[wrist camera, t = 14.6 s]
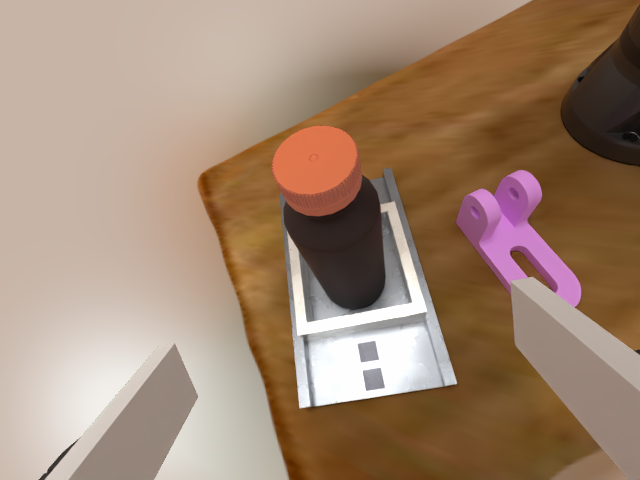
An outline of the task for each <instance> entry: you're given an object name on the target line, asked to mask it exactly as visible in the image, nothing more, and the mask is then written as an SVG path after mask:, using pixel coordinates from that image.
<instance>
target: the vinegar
mask: <svg viewBox="0 0 640 480" xmlns="http://www.w3.org/2000/svg"><path fill="white" fill-rule="evenodd" d="M272 164H273V165H272V167H273V168H272V170H273V171H272V173H273V174H272V175H273V176H274V179H275V182H276V183H277V185H278V187H279V189H280V191H281V193H282V194H283V196H284V198H285V200H286V202H285V205H284V209H283V215H284V225H285V227H286V229H287V231H288V234H289V236H290V238H291V239H292V241H293V242H294V244H295V245H296V247H297V249H298V250H299V252H300V253H301V255H302V257H303V258H304V260H305V261H306V263H307V264H308V266H309V268H310V269H311V271H312V272H313V274H314V275H315V277H316V279H317V280H318V282H319V283H320V285H321V287H322V288H323V290H324V291H325V293H326V294H327V296H328V297H329V298H330V299H331V300H332V301H333V302H334V303H335V304H337V305H339V306H341V307H343V308H349V309H357V308H364V307H366V306H368V305H369V304H371V303H373V302H374V301H375V300H376V299H377V298H378V297H379V296H380V295H381V293H382V291H383V289H384V286H385V278H386V275H385V261H384V247H383V233H382V219H381V206H380V201H379V197H378V193H377V191H376V189H375V188H374V186H373V185H372V183H371V182H370V180H369V179H367V178H366V177H364V176H363V175H362V173H361V165H360V158H359V151H358V147H357V145H356V143H355V141H353V138H351V136H349V134H347V132H344V130H343V131H342V130H341V129H338V128H335V127H330V126H313V127H310V128H306V129H303V130H301V131H299V132H296V133H295V134H293V135H291V136H290V137H289V138H287V140H285V141H284V142H283V143H282V144H281V145H280V147H279V148H278V150H277V151H276V153H275V156H274V159H273V162H272Z"/></svg>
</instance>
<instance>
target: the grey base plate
mask: <svg viewBox="0 0 640 480" xmlns="http://www.w3.org/2000/svg"><path fill="white" fill-rule="evenodd" d="M370 182H371V183H372V185H373V186H374V188H375V189H376V191H377V193H378V197H379V201H380V206H381V219H382V233H383V247H384V261H385V275H386V278H385V286H384V289H383V291H382V293H381V295H380V296H379V297H378V298H377V299H376V300H375V301H374V302H373V303H371V304H369V305H368V306H366V307H364V308H357V309H349V308H343V307H341V306H339V305H337V304H335V303H334V302H333V301H332V300H331V299H330V298H329V297H328V296H327V294H326V293H325V291H324V290H323V288H322V287H321V285H320V283H319V282H318V280H317V279H316V277H315V275H314V274H313V272H312V271H311V269H310V268H309V266H308V264H307V263H306V261H305V260H304V258H303V257H302V255H301V253H300V252H299V250H298V249H297V247H296V245H295V244H294V242H293V241H292V239H291V238H290V236H289V234H288V231H287V229H286V227H285V225H284V215H283V209H284V205H285V202H286V200H285V198H284V196H283V194H280V204H281V214H282V225H283V236H284V246H285V257H286V268H287V279H288V289H289V300H290V311H291V321H292V332H293V343H294V354H295V364H296V375H297V386H298V396H299V407H300V408H309V407H315V406H321V405H328V404H334V403H341V402H347V401H354V400H360V399H366V398H373V397H379V396H386V395H392V394H399V393H405V392H411V391H418V390H424V389H431V388H437V387H444V386H450V385H455V384H457V381H456V378H455V375H454V372H453V368H452V365H451V362H450V359H449V355H448V352H447V349H446V345H445V342H444V339H443V336H442V332H441V329H440V326H439V323H438V319H437V316H436V313H435V310H434V306H433V303H432V300H431V297H430V293H429V290H428V287H427V283H426V280H425V277H424V274H423V270H422V267H421V264H420V261H419V257H418V254H417V251H416V248H415V244H414V241H413V238H412V235H411V231H410V228H409V225H408V221H407V218H406V215H405V212H404V208H403V205H402V202H401V199H400V195H399V192H398V189H397V186H396V182H395V179H394V176H393V173H392V169H391V168H387V169H383V177H381V178H377V179H373V180H370Z"/></svg>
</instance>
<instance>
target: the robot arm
mask: <svg viewBox="0 0 640 480" xmlns="http://www.w3.org/2000/svg"><path fill="white" fill-rule="evenodd" d="M561 115H562V119H563V122H564V125H565V127H566V128H567V130H568V131H569V133H570V134H571V135H572V136H573V137H574V138H575V139H576V140H577V141H578V142H579V143H581V144H582V145H583V146H585V147H586V148H588V149H590V150H591V151H593V152H595V153H597V154H599V155H602V156H604V157H607V158H609V159H612V160H616V161H619V162H623V163H628V164H635V165H640V5H639V6H638V8H637V9H636V11H635V13H634V14H633V16H632V18H631V19H630V21H629V23H628V24H627V26H626V28H625V29H624V31H623V32H622V34H621V35H620V37H619V38H618V39H617V40H616V41H615V42H613V43H612V44H611V45H610V46H609V47H608V48H607V49H606V50H605V51H604V52H603V53H602V54H601V55H600V56H599V57H597V58H596V59H595V60H594V61H593V62H592V63H591V64H590V65H589V66H588V67H587V68H586V69H585V70H584V71H583V72H582V73H580V75H579V76H578V77H577V78H576V79H575V81H574V82H573V83H572V85H571V87H570V89H569V90H568V92H567V94H566V96H565V98H564V100H563V103H562V107H561ZM510 283H511V297H512V310H513V324H514V337H515V346H516V347H517V348H518V349H519V350H520V352H521V353H522V354H523V355H524V356H525V358H526V359H527V360H528V361H529V362H530V364H531V365H532V366H533V367H534V368H535V369H536V371H537V372H538V373H539V374H540V375H541V377H542V378H543V379H544V380H545V381H546V383H547V384H548V385H549V386H550V387H551V389H552V390H553V391H554V392H555V393H556V395H557V396H558V397H559V398H560V399H561V400H562V402H563V403H564V404H565V405H566V406H567V408H568V409H569V410H570V411H571V412H572V414H573V415H574V416H575V417H576V418H577V420H578V421H579V422H580V423H581V424H582V426H583V427H584V428H585V429H586V430H587V431H588V433H589V434H590V435H591V436H592V437H593V439H594V440H595V441H596V442H597V443H598V445H599V446H600V447H601V448H602V449H603V451H604V452H605V453H606V454H607V455H608V457H610V459H611V460H612V461H613V462H614V464H615V465H616V466H617V467H618V468H619V470H620V471H621V472H622V473H623V474H624V476H625V477H626V478H627V479H628V480H640V350H635V351H633V350H632V349H631V348H629V347H628V346H627V345H625V344H624V343H622V342H621V341H620V340H618V339H617V338H616V337H614V336H613V335H612V334H610V333H609V332H607V331H606V330H605V329H603V328H602V327H601V326H599V325H598V324H597V323H595V322H594V321H592V320H591V319H590V318H588V317H587V316H586V315H584V314H583V313H582V312H580V311H579V310H577V309H576V308H575V307H573V306H572V305H571V304H569V303H568V302H567V301H565V300H564V299H562V298H561V297H560V296H558V295H557V294H556V293H554V292H553V291H551V290H550V289H549V288H547V287H546V286H545V285H543V284H542V283H541V282H539V281H538V280H536V279H535V278H534V277H529V278H524V279H518V280H513V281H510ZM197 398H198V395H197V393H196V391H195V388H194V386H193V384H192V381H191V379H190V377H189V375H188V373H187V370H186V368H185V366H184V364H183V361H182V359H181V356H180V354H179V352H178V350H177V347H176V345H175V344H169V345H164V346H158V347H157V348H156V349H155V350H154V352H153V353H152V354H151V355H150V356H149V357H148V359H147V360H146V361H145V362H144V363H143V364H142V366H141V367H140V368H139V369H138V370H137V372H136V373H135V374H134V375H133V376H132V377H131V379H130V380H129V381H128V382H127V383H126V384H125V386H124V387H123V388H122V389H121V390H120V392H119V393H118V394H117V395H116V396H115V398H114V399H113V400H112V401H111V402H110V403H109V405H108V406H107V407H106V408H105V409H104V410H103V412H102V413H101V414H100V415H99V417H97V419H96V420H95V421H94V422H93V423H92V425H91V426H90V427H89V428H88V429H87V430H86V432H85V433H84V434H83V435H82V436H81V437H80V438H79V439H78V440H77V441H76V442H74V443H73V444H72V445H71V446H70V447H69V448H67V449H66V450H65V451H64V452H63V453H62V454H61V455H60V456H59V457H58V458H57V460H56V461H55V462H54V463H53V464H52V465H51V466H50V468H49V469H48V471H47V473H45V474H44V475H43V476H42V477H41V478H40V479H39V480H154V479H155V477H156V475H157V473H158V471H159V469H160V467H161V465H162V464H163V462H164V460H165V458H166V456H167V454H168V452H169V450H170V448H171V447H172V445H173V443H174V441H175V439H176V437H177V435H178V433H179V432H180V430H181V428H182V426H183V424H184V422H185V420H186V419H187V417H188V415H189V413H190V411H191V409H192V407H193V405H194V404H195V402H196V400H197Z"/></svg>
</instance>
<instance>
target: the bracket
mask: <svg viewBox="0 0 640 480" xmlns="http://www.w3.org/2000/svg"><path fill="white" fill-rule="evenodd" d="M541 198H542V191H541V187H540V185H539V183H538V181H537V180H536V178H535V177H534V176H533V175H532V174H530V173H529V172H527V171H524V170H519V171H516V172H514V173H512V174H510V175H508V176H506V177H504V178H503V179H502V180H501V182H500V184H499V186H498V188H497V190H496V192H495V194H494V196H493V195H492V194H491V193H490V192H488V191H487V190H485V189H479V190H477V191H474V192H472V193H470V194H468V195H466V196H465V197H464V199H463V202H462V205H461V208H460V211H459V214H458V217H457V220H456V224H457V225H458V226H459V228H460V229H461V230H462V232H463V233H464V234H465V236H466V237H467V238H468V240H469V241H470V242H471V243H472V245H473V246H474V247H475V249H476V250H477V251H478V253H479V254H480V255H481V257H482V258H483V259H484V261H485V262H486V263H487V264H488V266H489V267H490V268H491V270H492V271H493V272H494V274H495V275H496V276H497V278H498V279H499V280H500V281H501V283H502V284H503V285H504V287H505V288H506V289H507V291H508V292H509V293H510V295H511V283H510V281H513V280H518V279H524V278H528V277H527V276H526V275H525V273H524V272H523V271H522V270H521V268H520V267H519V266H518V265H517V264H516V262H515V261H514V260H513V259H512V257H511V256H510V251H519V252H521V253H523V254H524V255H525V257H526V258H527V259H528V260H529V261H530V262H531V264H532V265H533V266H534V267H535V268H536V270H537V271H538V272H539V273H540V274H541V275H542V277H543V278H544V279H545V280H546V281H547V283H548V284H549V285H550V286H551V288H552V291H553V292H554V293H556V294H557V295H558V296H560V297H561V298H562V299H564V300H565V301H567V302H568V303H569V304H571V305H572V306H573V307H576V306H577V304H578V303H579V301H580V298H581V287H580V283H579V281H578V279H577V278H576V276H575V275H574V274H573V272H572V271H571V270H570V269H569V268H568V267H567V266H566V265H565V264H564V262H563V261H562V260H561V259H560V258H559V257H558V256H557V255H556V254H555V252H554V251H553V250H552V249H551V248H550V247H549V246H548V245H547V244H546V243H545V241H544V240H543V239H542V238H541V237H540V236H539V235H538V234H537V233H536V231H535V230H534V229H533V228H532V227H531V226H530V225H529V223H528V221H527V219H528V217H529V216H530V215H531V213H532V212H533V211H534V209H535V208H536V206H537V205H538V204H539V202H540V201H541Z"/></svg>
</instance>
